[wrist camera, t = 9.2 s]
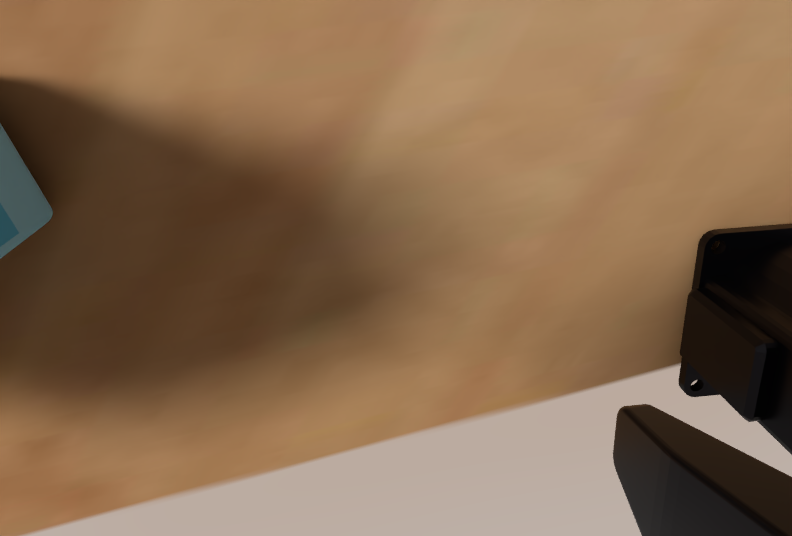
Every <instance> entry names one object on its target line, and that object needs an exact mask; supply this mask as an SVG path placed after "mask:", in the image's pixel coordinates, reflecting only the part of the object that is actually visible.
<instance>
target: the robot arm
mask: <svg viewBox="0 0 792 536" xmlns="http://www.w3.org/2000/svg"><path fill="white" fill-rule="evenodd" d="M716 241H719V245H718V247H717V248H716V249H714V250H712V249H711V248H712V245H713V244H714V243H715V242H716ZM680 355H681V356H682V361H681V368H680V376H679V386H680V387H681V389H682V390H683V391H684V392H685V393H686V394H687V395H689V396H691V397H699V396H709V395H719V394H720V395H721V396H722V397H723V398H724V399H726V401H727V402H728V403H729V404H730V405H731V406H732V407H733V408H734V409H735V410H736V411H737V412H738V413H739V414H740V415H741V416H742V417H743V418H744V419H746V420H747V421H749V422H751V421H758V422H759V423H760V424H761V425H762V426H763V427H764V428H765V429H766V430H767V431H768V432H769V433H770V434H771V435H772V436H773V437H774V438H775V439H776V440H777V441H778V442H779V443H780V444H781V445H782V446H783V447H784V448H785V449H786V450H787V451H789V452H790V453H791V454H792V224H783V225H770V226H757V227H744V228H731V229H718V230H712V231H708V232H707V233H705V234H704V235H703V236H702V238H701V239H700V241H699V244H698V250H697V257H696V264H695V271H694V278H693V285H692V290H691V292H690V293H689V295H688V299H687V307H686V314H685V321H684V328H683V335H682V342H681V349H680ZM695 380H697V382H696V383H695V384H694V385H691V383H692V382H693V381H695ZM613 459H614V465H615V469H616V472H617V474H618V477H619V479H620V482H621V484H622V487H623V489H624V492H625V494H626V497H627V499H628V502H629V504H630V507H631V509H632V512H633V514H634V517H635V519H636V522H637V525H638V527H639V529H640V532H641V534H642V536H792V477H791V476H789V475H787V474H785V473H783V472H781V471H779V470H777V469H775V468H773V467H771V466H769V465H767V464H765V463H763V462H761V461H759V460H757V459H755V458H753V457H751V456H749V455H747V454H745V453H743V452H741V451H739V450H738V449H735V448H733V447H731V446H730V445H727V444H726V443H724V442H721V441H719V440H718V439H716V438H714V437H712V436H710V435H708V434H706V433H704V432H702V431H700V430H698V429H696V428H694V427H692V426H690V425H688V424H686V423H684V422H683V421H681V420H679V419H677V418H674V417H673V416H671V415H669V414H667V413H665V412H663V411H661V410H659V409H657V408H655V407H653V406H651V405H647V404H643V405H632V406H624V407H622V408H621V409H620V410H619V412H618V414H617V421H616V430H615V440H614V450H613Z"/></svg>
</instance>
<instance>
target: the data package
mask: <svg viewBox="0 0 792 536" xmlns="http://www.w3.org/2000/svg"><path fill="white" fill-rule="evenodd" d="M52 215H53V210H52V208H51V206H50V205H49V203H48V201H47V200H46V198H45V196H44V195H43V193H42V191H41V190H40V188H39V186H38V185H37V183H36V181H35V180H34V178H33V176H32V175H31V173H30V171H29V170H28V168H27V166H26V165H25V163H24V162H23V160H22V158H21V157H20V155H19V153H18V152H17V150H16V148H15V147H14V145H13V143H12V142H11V140H10V138H9V137H8V135H7V133H6V132H5V130H4V128H3V127H2V125H1V123H0V259H1V258H2V257H3V256H5V255H6V254H7V253H9V252H10V251H11V250H12V249H14V248H15V247H16V246H18V245H19V244H20V243H22V242H23V241H24V240H26V239H27V238H28V237H29V236H31V235H32V234H33V233H35V232H36V231H37V230H39V229H40V228H41V227H43V226H44V225H45V224H46V223H47V222H49V220H50V219H51V218H52Z"/></svg>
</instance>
